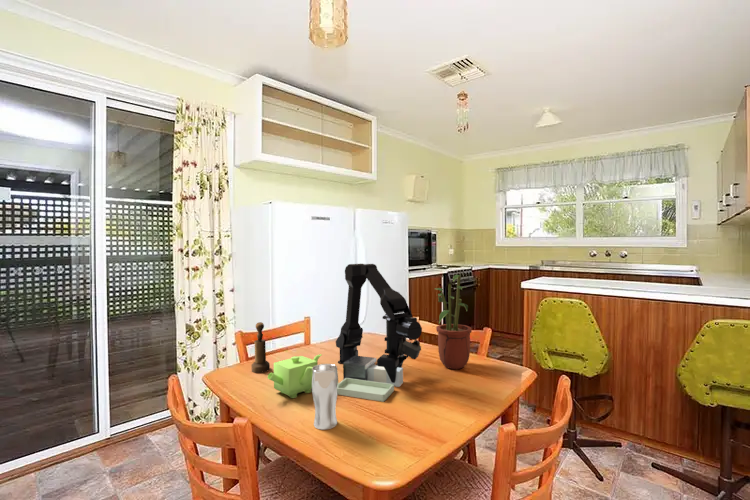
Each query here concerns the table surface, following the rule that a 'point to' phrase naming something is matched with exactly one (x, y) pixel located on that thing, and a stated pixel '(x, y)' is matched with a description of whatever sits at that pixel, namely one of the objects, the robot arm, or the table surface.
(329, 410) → the beer glass
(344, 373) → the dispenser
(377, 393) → the dish
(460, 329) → the potted plant
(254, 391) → the table surface
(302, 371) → the kettle
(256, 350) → the dark turned peg
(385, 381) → the white square column
